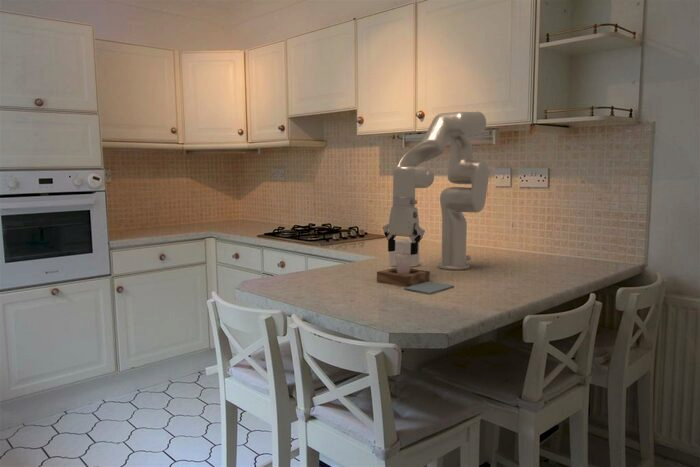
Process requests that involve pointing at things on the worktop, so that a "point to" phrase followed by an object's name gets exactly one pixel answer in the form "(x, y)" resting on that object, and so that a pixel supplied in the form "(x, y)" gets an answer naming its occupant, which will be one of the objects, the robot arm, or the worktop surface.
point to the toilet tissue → (405, 250)
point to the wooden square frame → (403, 277)
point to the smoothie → (403, 261)
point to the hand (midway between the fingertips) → (402, 252)
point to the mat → (429, 287)
